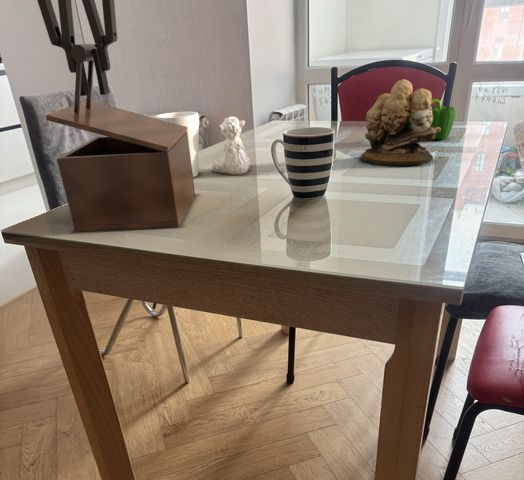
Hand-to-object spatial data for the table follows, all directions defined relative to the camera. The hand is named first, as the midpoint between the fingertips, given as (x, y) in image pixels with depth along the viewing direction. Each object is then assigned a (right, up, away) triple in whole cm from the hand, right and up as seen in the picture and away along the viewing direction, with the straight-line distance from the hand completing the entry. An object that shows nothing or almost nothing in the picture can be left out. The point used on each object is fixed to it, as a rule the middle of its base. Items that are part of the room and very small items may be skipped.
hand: (95, 94), depth 85 cm
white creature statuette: (+22, -1, +34) cm, 41 cm away
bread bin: (+5, -17, +10) cm, 20 cm away
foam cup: (+10, -2, +34) cm, 35 cm away
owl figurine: (+60, +2, +35) cm, 69 cm away
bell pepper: (+75, +15, +54) cm, 94 cm away
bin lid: (+4, -4, +3) cm, 6 cm away
